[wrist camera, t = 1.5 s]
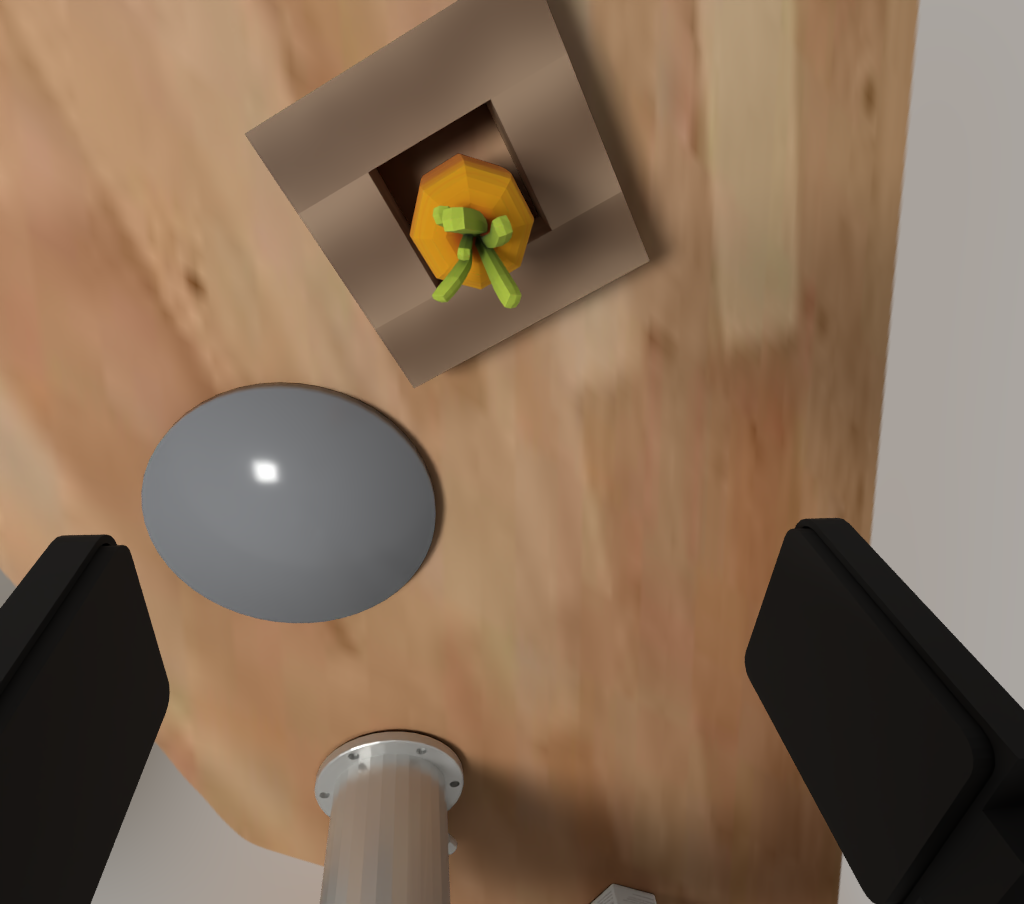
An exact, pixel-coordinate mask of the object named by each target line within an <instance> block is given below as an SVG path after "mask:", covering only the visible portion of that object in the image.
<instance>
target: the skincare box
mask: <svg viewBox="0 0 1024 904" xmlns="http://www.w3.org/2000/svg"><path fill="white" fill-rule="evenodd" d="M591 904H657V903H656V900H655V896H654V895H653V894H650V893H646V892H643V891H639V890H635V889H631V888H628V887H624V886H620V885H616V884H612V885H611V886H609V887H608V888H607V889H606V890H605V891H604V892H603V893H602V894H601V895H600V896H598V897H597V898H596V899H595V900H594V901H593V902H592V903H591Z"/></svg>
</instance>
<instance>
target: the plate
mask: <svg viewBox="0 0 1024 904" xmlns="http://www.w3.org/2000/svg"><path fill="white" fill-rule="evenodd" d="M142 510H143V516H144V521H145V525H146V527H147V530H148V533H149V536H150V538H151V540H152V542H153V544H154V546H155V548H156V549H157V551H158V553H159V554H160V556H161V557H162V558H163V560H164V561H165V563H166V564H167V565H168V567H169V568H170V569H171V570H172V571H173V572H174V573H175V574H176V575H177V576H178V577H179V578H180V579H181V580H182V581H184V582H185V583H186V584H187V585H188V586H190V587H191V588H192V589H193V590H195V591H196V592H198V593H199V594H201V595H203V596H204V597H206V598H207V599H209V600H211V601H213V602H215V603H217V604H219V605H221V606H223V607H225V608H227V609H230V610H232V611H235V612H238V613H240V614H244V615H247V616H251V617H254V618H258V619H264V620H269V621H274V622H286V623H314V622H324V621H330V620H335V619H340V618H344V617H347V616H351V615H354V614H357V613H360V612H362V611H364V610H367V609H369V608H371V607H373V606H375V605H377V604H379V603H381V602H382V601H384V600H386V599H387V598H389V597H390V596H391V595H393V594H394V593H395V592H397V591H398V590H399V589H400V588H401V587H402V586H404V585H405V584H406V583H407V582H408V581H409V580H410V579H411V577H412V576H413V575H414V574H415V572H416V571H417V570H418V569H419V567H420V565H421V564H422V562H423V560H424V558H425V557H426V555H427V552H428V550H429V547H430V545H431V542H432V538H433V533H434V529H435V515H436V512H435V497H434V489H433V485H432V481H431V477H430V474H429V472H428V470H427V467H426V465H425V463H424V461H423V459H422V457H421V456H420V454H419V452H418V451H417V449H416V447H415V446H414V445H413V444H412V442H411V441H410V440H409V439H408V437H407V436H406V435H405V434H404V433H403V432H402V431H401V430H400V429H399V428H398V427H397V426H396V425H395V424H394V423H393V422H392V421H390V420H389V419H388V418H386V417H385V416H383V415H382V414H381V413H379V412H378V411H377V410H375V409H373V408H371V407H370V406H368V405H366V404H364V403H363V402H361V401H359V400H357V399H354V398H352V397H349V396H347V395H345V394H342V393H340V392H336V391H333V390H329V389H326V388H322V387H317V386H311V385H305V384H298V383H264V384H255V385H250V386H245V387H239V388H236V389H233V390H230V391H227V392H224V393H220V394H218V395H216V396H214V397H212V398H210V399H208V400H206V401H203V402H202V403H200V404H199V405H197V406H196V407H194V408H193V409H191V410H190V411H188V412H187V413H186V414H185V415H183V416H182V417H181V418H180V419H179V420H178V421H177V422H176V423H175V424H174V425H173V426H172V427H171V428H170V430H169V431H168V432H167V433H166V435H165V436H164V437H163V439H162V440H161V441H160V443H159V444H158V445H157V447H156V449H155V451H154V453H153V455H152V456H151V458H150V460H149V463H148V466H147V469H146V471H145V474H144V479H143V486H142Z"/></svg>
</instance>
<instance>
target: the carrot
mask: <svg viewBox="0 0 1024 904" xmlns="http://www.w3.org/2000/svg"><path fill="white" fill-rule="evenodd" d="M533 222H534V217H533V215H532V213H531V212H530V210H529V208H528V206H527V204H526V202H525V200H524V198H523V196H522V194H521V192H520V190H519V188H518V186H517V184H516V182H515V180H514V178H513V176H512V174H511V173H510V172H509V171H508V170H506V169H505V168H503V167H500V166H498V165H495V164H492V163H488V162H485V161H482V160H478V159H475V158H472V157H468V156H465V155H462V154H459V153H458V154H457V155H455V156H453V157H452V158H450V159H449V160H447V161H445V162H444V163H442V164H441V165H439V166H437V167H436V168H434V169H433V170H431V171H429V172H428V173H426V174H425V175H423V176H422V179H421V182H420V187H419V192H418V196H417V201H416V206H415V211H414V216H413V220H412V225H411V230H410V237H411V238H412V240H413V242H414V243H415V245H416V246H417V248H418V250H419V251H420V253H421V254H422V256H423V258H424V259H425V261H426V263H427V264H428V266H429V267H430V269H431V271H432V272H433V274H434V275H435V277H436V278H437V279H441V280H443V281H442V282H441V284H440V285H439V286H438V287H437V289H436V290H435V291H434V293H433V294H432V297H433V299H434V300H436V301H439V302H448V301H449V300H450V299H451V298H452V297H453V296H454V295H455V293H456V292H457V291H458V289H459V288H460V287H461V285H465V286H469V287H473V288H477V289H483V288H485V287H486V286H488V285H490V284H492V286H493V288H494V290H495V292H496V294H497V296H498V298H499V300H500V301H501V303H502V304H503V305H504V307H506V308H510V309H511V308H515V307H516V306H517V305H518V303H519V302H520V299H521V293H520V290H519V288H518V286H517V285H516V283H515V281H514V280H513V278H512V277H511V275H510V274H509V273H510V272H512V271H514V270H515V269H517V268H519V267H520V266H521V263H522V260H523V257H524V253H525V250H526V246H527V243H528V239H529V236H530V232H531V229H532V225H533Z"/></svg>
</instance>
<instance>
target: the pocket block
mask: <svg viewBox="0 0 1024 904" xmlns="http://www.w3.org/2000/svg"><path fill="white" fill-rule="evenodd" d="M485 102H486V104H487V106H488V109H489V111H490V113H491V115H492V117H493V119H494V121H495V123H496V125H497V128H498V130H499V132H500V134H501V136H502V138H503V140H504V142H505V145H506V147H507V149H508V151H509V153H510V155H511V157H512V159H513V161H514V164H515V166H516V168H517V170H518V172H519V174H520V176H521V178H522V180H523V183H524V185H525V187H526V189H527V191H528V193H529V195H530V197H531V200H532V202H533V204H534V206H535V208H536V210H537V212H538V214H539V216H538V217H536V218H535V219H534V222H533V225H532V229H531V232H530V236H529V239H528V243H527V246H526V250H525V253H524V257H523V260H522V263H521V266H520V267H519V268H517V269H515V270H514V271H512V272H510V273H509V274H510V275H511V277H512V278H513V280H514V281H515V283H516V285H517V286H518V288H519V290H520V293H521V299H520V302H519V303H518V305H517V306H516V307H515V308H511V309H510V308H506V307H504V305H503V304H502V303H501V301H500V300H499V298H498V296H497V294H496V292H495V290H494V288H493V286H492V284H490V285H488V286H486V287H485V288H483V289H477V288H473V287H469V286H465V285H461V287H460V288H459V289H458V291H457V292H456V293H455V295H454V296H453V297H452V298H451V299H450V300H449V301H448V302H439V301H436V300H434V299H433V297H432V294H433V293H434V291H435V290H436V289H437V287H438V286H439V285H440V284H441V282H442V281H443V280H441V279H437V278H436V277H435V275H434V274H433V272H432V271H431V269H430V267H429V266H428V264H427V263H426V261H425V259H424V258H423V256H422V254H421V253H420V251H419V250H418V248H417V246H416V245H415V243H414V242H413V240H412V238H411V237H410V230H411V227H410V226H409V224H408V222H407V220H406V219H405V217H404V215H403V214H402V212H401V210H400V208H399V207H398V205H397V203H396V202H395V200H394V198H393V196H392V195H391V193H390V191H389V189H388V188H387V186H386V184H385V183H384V181H383V179H382V177H381V176H380V174H379V172H378V171H377V169H376V167H378V166H380V165H381V164H383V163H385V162H386V161H388V160H390V159H391V158H393V157H395V156H396V155H398V154H400V153H401V152H403V151H405V150H406V149H408V148H410V147H411V146H413V145H415V144H416V143H418V142H420V141H421V140H423V139H425V138H426V137H428V136H430V135H432V134H433V133H435V132H437V131H438V130H440V129H442V128H443V127H445V126H447V125H448V124H450V123H452V122H453V121H455V120H457V119H458V118H460V117H462V116H463V115H465V114H467V113H468V112H470V111H472V110H473V109H475V108H477V107H478V106H480V105H482V104H483V103H485ZM245 135H246V137H247V138H248V140H249V141H250V143H251V144H252V146H253V147H254V149H255V150H256V152H257V153H258V155H259V156H260V158H261V159H262V161H263V162H264V164H265V165H266V167H267V168H268V170H269V171H270V173H271V174H272V176H273V177H274V179H275V180H276V182H277V183H278V185H279V186H280V188H281V189H282V191H283V192H284V194H285V195H286V197H287V198H288V200H289V201H290V203H291V204H292V206H293V207H294V209H295V210H296V212H297V213H298V215H299V216H300V218H301V219H302V221H303V222H304V224H305V225H306V227H307V228H308V230H309V231H310V233H311V234H312V236H313V237H314V239H315V240H316V242H317V243H318V245H319V246H320V248H321V249H322V251H323V252H324V254H325V255H326V257H327V258H328V260H329V261H330V263H331V264H332V266H333V267H334V269H335V270H336V272H337V273H338V275H339V276H340V278H341V279H342V281H343V282H344V284H345V285H346V287H347V288H348V290H349V291H350V293H351V294H352V296H353V297H354V299H355V300H356V302H357V303H358V305H359V306H360V308H361V309H362V311H363V312H364V314H365V315H366V317H367V318H368V320H369V321H370V323H371V324H372V326H373V327H374V329H375V330H376V332H377V333H378V335H379V336H380V338H381V339H382V341H383V342H384V344H385V345H386V347H387V348H388V350H389V351H390V353H391V354H392V356H393V357H394V359H395V360H396V362H397V363H398V365H399V366H400V368H401V369H402V371H403V372H404V374H405V375H406V377H407V378H408V380H409V381H410V383H411V384H412V386H413V387H414V388H416V387H417V386H419V385H421V384H423V383H425V382H427V381H429V380H430V379H432V378H434V377H436V376H438V375H440V374H442V373H443V372H445V371H447V370H449V369H451V368H453V367H455V366H456V365H458V364H460V363H462V362H464V361H466V360H467V359H469V358H471V357H473V356H475V355H477V354H479V353H480V352H482V351H484V350H486V349H488V348H490V347H492V346H493V345H495V344H497V343H499V342H501V341H503V340H504V339H506V338H508V337H510V336H512V335H514V334H516V333H517V332H519V331H521V330H523V329H525V328H527V327H529V326H530V325H532V324H534V323H536V322H538V321H540V320H541V319H543V318H545V317H547V316H549V315H551V314H553V313H554V312H556V311H558V310H560V309H562V308H564V307H566V306H567V305H569V304H571V303H573V302H575V301H577V300H578V299H580V298H582V297H584V296H586V295H588V294H590V293H591V292H593V291H595V290H597V289H599V288H601V287H603V286H604V285H606V284H608V283H610V282H612V281H614V280H615V279H617V278H619V277H621V276H623V275H625V274H627V273H628V272H630V271H632V270H634V269H636V268H638V267H640V266H641V265H643V264H645V263H647V262H649V261H650V260H649V258H648V255H647V253H646V250H645V248H644V245H643V243H642V240H641V238H640V235H639V233H638V230H637V228H636V225H635V223H634V220H633V218H632V215H631V213H630V210H629V208H628V205H627V202H626V200H625V197H624V195H623V192H622V190H621V187H620V185H619V182H618V180H617V177H616V175H615V172H614V170H613V167H612V165H611V162H610V160H609V157H608V155H607V152H606V150H605V147H604V145H603V142H602V140H601V137H600V135H599V132H598V130H597V127H596V125H595V122H594V120H593V117H592V115H591V112H590V110H589V107H588V104H587V102H586V99H585V97H584V94H583V92H582V89H581V87H580V84H579V82H578V79H577V77H576V74H575V72H574V69H573V67H572V64H571V62H570V59H569V57H568V54H567V52H566V49H565V47H564V44H563V42H562V39H561V37H560V34H559V32H558V29H557V27H556V24H555V22H554V19H553V17H552V14H551V11H550V9H549V6H548V4H547V1H546V0H458V1H456V2H455V3H453V4H452V5H450V6H448V7H447V8H445V9H444V10H442V11H440V12H439V13H437V14H436V15H434V16H432V17H431V18H429V19H428V20H426V21H424V22H423V23H421V24H420V25H418V26H416V27H415V28H413V29H412V30H410V31H408V32H407V33H405V34H404V35H402V36H400V37H399V38H397V39H396V40H394V41H392V42H391V43H389V44H388V45H386V46H384V47H383V48H381V49H380V50H378V51H376V52H375V53H373V54H372V55H370V56H368V57H367V58H365V59H364V60H362V61H360V62H359V63H357V64H356V65H354V66H352V67H351V68H349V69H348V70H346V71H344V72H343V73H341V74H340V75H338V76H336V77H335V78H333V79H332V80H330V81H328V82H327V83H325V84H323V85H322V86H320V87H319V88H317V89H315V90H314V91H312V92H311V93H309V94H307V95H306V96H304V97H303V98H301V99H299V100H298V101H296V102H295V103H293V104H291V105H290V106H288V107H287V108H285V109H283V110H282V111H280V112H279V113H277V114H275V115H274V116H272V117H271V118H269V119H267V120H266V121H264V122H263V123H261V124H259V125H258V126H256V127H255V128H253V129H251V130H250V131H248V132H247V133H245Z"/></svg>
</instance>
